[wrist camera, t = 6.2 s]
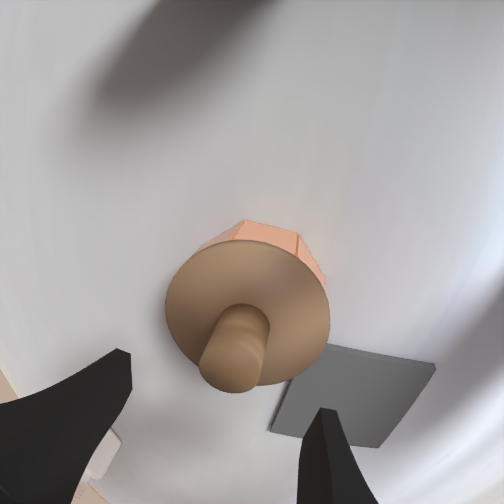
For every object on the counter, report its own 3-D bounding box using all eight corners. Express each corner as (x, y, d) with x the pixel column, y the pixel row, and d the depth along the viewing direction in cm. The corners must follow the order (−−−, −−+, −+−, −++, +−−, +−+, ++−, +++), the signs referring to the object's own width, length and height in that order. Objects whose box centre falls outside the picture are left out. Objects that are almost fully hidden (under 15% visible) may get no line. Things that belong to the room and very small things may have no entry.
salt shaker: (100, 439, 31) (66, 495, 22) (82, 417, 30) (43, 474, 21) (124, 442, 30) (90, 504, 21) (106, 420, 29) (66, 483, 20)
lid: (362, 293, 15) (376, 346, 11) (277, 395, 19) (268, 451, 15) (207, 207, 15) (171, 237, 11) (152, 332, 19) (119, 379, 14)
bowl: (336, 243, 18) (341, 265, 15) (300, 347, 21) (298, 379, 18) (207, 210, 19) (188, 226, 16) (191, 318, 22) (174, 345, 19)
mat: (434, 363, 20) (436, 369, 19) (377, 443, 24) (378, 448, 23) (307, 338, 21) (306, 344, 20) (271, 426, 25) (270, 431, 24)
